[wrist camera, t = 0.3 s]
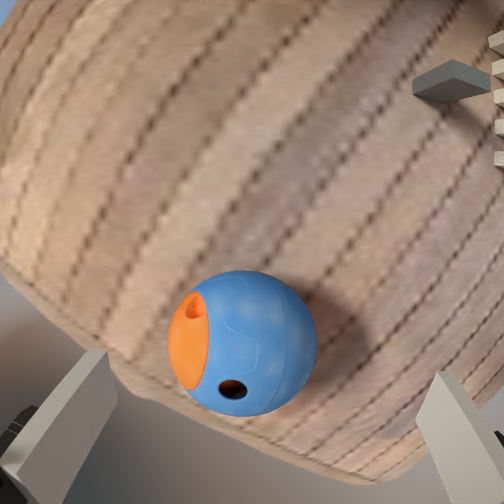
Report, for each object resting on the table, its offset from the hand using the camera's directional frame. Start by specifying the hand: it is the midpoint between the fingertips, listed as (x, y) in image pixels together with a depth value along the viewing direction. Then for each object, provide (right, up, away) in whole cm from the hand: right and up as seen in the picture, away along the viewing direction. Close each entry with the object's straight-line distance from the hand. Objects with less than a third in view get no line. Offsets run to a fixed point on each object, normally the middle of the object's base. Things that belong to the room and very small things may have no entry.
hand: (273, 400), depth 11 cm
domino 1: (+21, +25, +20) cm, 38 cm away
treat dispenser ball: (-1, -2, +29) cm, 29 cm away
